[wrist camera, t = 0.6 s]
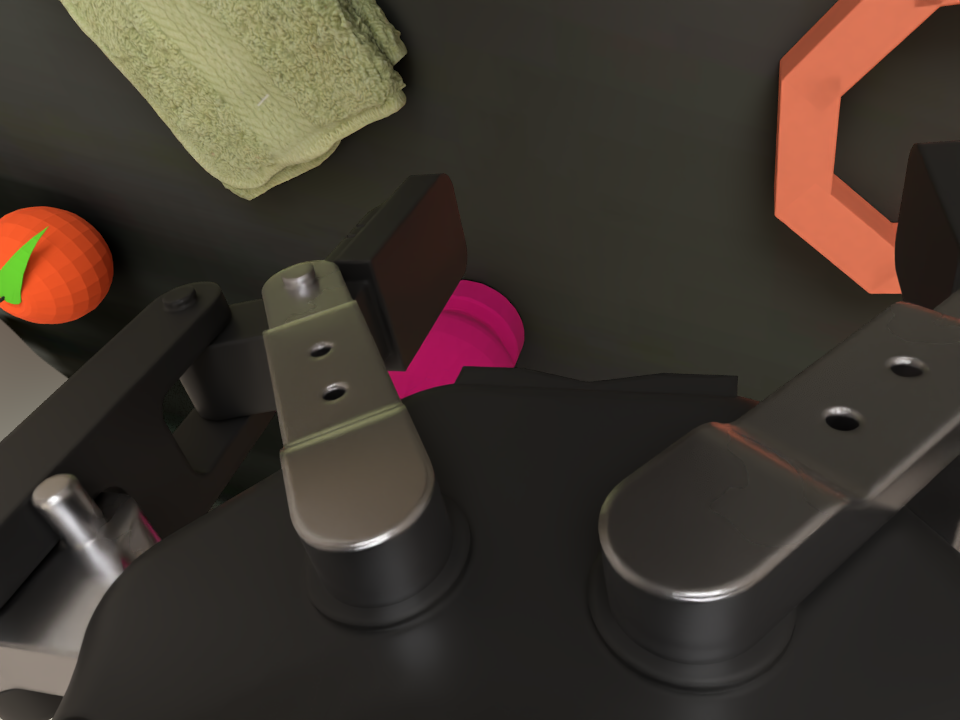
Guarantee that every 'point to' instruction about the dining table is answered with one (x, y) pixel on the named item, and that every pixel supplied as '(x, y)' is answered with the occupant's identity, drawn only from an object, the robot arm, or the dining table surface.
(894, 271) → the ring
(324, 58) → the washcloth
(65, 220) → the clementine
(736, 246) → the dining table surface
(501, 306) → the pepper mill
